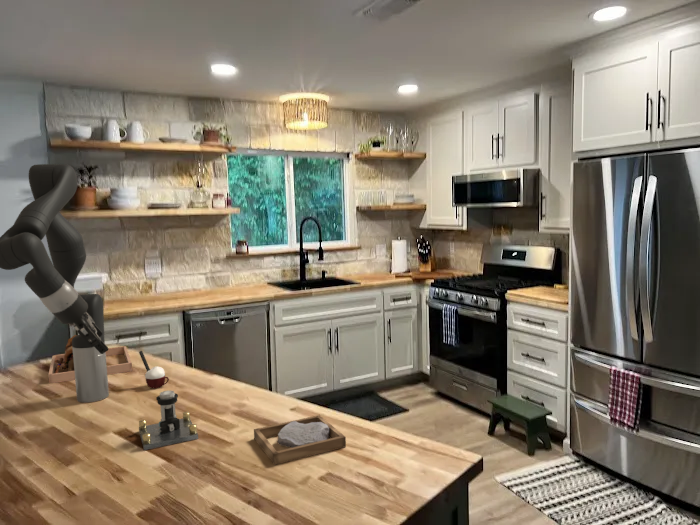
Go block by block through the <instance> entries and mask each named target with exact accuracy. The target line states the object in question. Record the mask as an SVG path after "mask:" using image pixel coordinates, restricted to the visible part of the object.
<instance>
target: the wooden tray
mask: <svg viewBox="0 0 700 525" xmlns="http://www.w3.org/2000/svg"><path fill="white" fill-rule="evenodd" d="M127 348H128V347H127V346H126V345H123V346H121V345H120V346H114V347H108V351H106V357H108V356H109V357H110V356H115V355H117V356H118V355H124V358H125V362H124V363H118V364H112V365H107V376H109V375H114V374H121V373H126V372H133V364H132V363H133V362H132V360H131V357H130V355H129V351H128V349H127ZM64 355H65V353H61V354H55V355H52V358H51V361H50V365H49V371H48V374H47V375H48V384H54V383H60V382H61V383H62V382H68V381H74V380H75V371H69V372H68V371H64V372H58V373H55V372H56V365H57V363H56V362H55V361H56V360H60V358H63V359H64V360H63V362H62V363H65V358H64Z"/></svg>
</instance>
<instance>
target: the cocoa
mask: <svg viewBox="0 0 700 525" xmlns="http://www.w3.org/2000/svg"><path fill="white" fill-rule="evenodd" d="M138 354H139V356H140V358H141V361H142V364H143V366H144V368H145V370H146V372H145V374H144V377H145V383H146V385H147V387H148V388H150V389H159V388H162V387H163V386H166V385H167V383H169V381H170V379H169V377H168V376H166V372H165V369H164V368H163V367H161V366H158V365H157V366H153V367H151V369H150V366H149V364H148V361H147V359H146V356H145V355H144V352H143V351H142V350H139V351H138ZM165 381H166V382H165Z"/></svg>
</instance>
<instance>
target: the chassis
mask: <svg viewBox="0 0 700 525" xmlns="http://www.w3.org/2000/svg"><path fill="white" fill-rule="evenodd" d="M190 413H191V412H190V411H184V412H182V418H178V419H179V421H180V428H179V429H175V430H173V431H169V432H166V433H162V432H158V433H154V432H156V431H159V429H156V430H155V428H158V427H159V422H158V423H151V424H148V425H147V420H146V419H141V420H139V421H138V432H139V435H140V436H139V437H140V440H141V443H142V447H143V450H144V451H147V450H151V449H152V450H153V449H158V448H162V447H165V446H170V445H175V444H180V443H186V442H189V441H194V440H198V439H199V433H198V427H197V423H193V422H192V420H191V415H190Z"/></svg>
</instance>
